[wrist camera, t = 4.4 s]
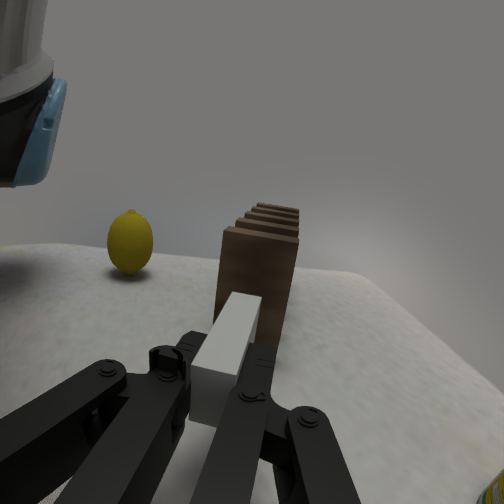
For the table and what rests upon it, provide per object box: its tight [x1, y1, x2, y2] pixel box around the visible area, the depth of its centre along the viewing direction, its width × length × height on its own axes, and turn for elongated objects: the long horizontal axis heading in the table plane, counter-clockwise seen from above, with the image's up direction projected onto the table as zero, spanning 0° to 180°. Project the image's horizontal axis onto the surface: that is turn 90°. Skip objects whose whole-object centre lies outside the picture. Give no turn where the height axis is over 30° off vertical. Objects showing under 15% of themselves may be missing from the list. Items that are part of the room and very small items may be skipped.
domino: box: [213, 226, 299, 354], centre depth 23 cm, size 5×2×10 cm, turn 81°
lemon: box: [107, 210, 153, 275], centre depth 35 cm, size 6×6×8 cm
